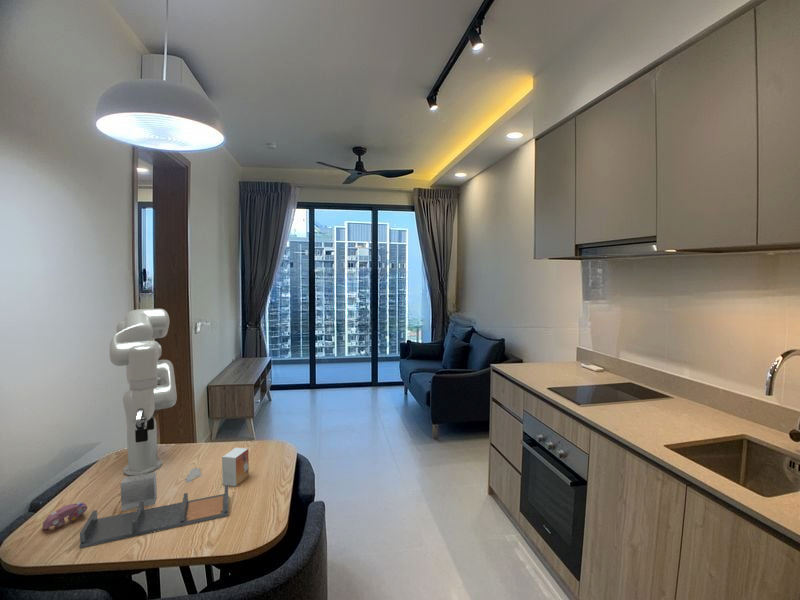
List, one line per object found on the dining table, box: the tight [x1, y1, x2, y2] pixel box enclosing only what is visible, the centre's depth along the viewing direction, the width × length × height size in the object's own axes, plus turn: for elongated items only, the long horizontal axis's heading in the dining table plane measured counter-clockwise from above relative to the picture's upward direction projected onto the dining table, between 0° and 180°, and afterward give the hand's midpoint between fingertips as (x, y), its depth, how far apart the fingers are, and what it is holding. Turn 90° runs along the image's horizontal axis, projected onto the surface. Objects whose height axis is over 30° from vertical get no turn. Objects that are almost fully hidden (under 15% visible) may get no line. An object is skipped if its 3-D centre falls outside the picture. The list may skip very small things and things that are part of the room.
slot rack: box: [79, 485, 229, 549], centre depth 119 cm, size 12×37×4 cm, turn 113°
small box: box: [221, 447, 250, 487], centre depth 141 cm, size 8×6×10 cm
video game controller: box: [42, 501, 88, 530], centre depth 117 cm, size 10×5×7 cm, turn 148°
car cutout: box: [184, 466, 203, 483], centre depth 139 cm, size 15×7×4 cm, turn 162°
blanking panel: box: [120, 471, 158, 512], centre depth 126 cm, size 4×9×9 cm, turn 113°
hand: (145, 435), depth 126 cm, fingers open, 9 cm apart
